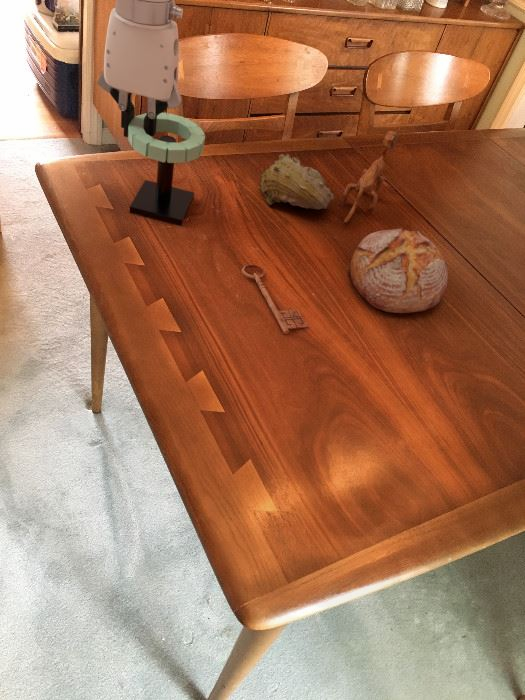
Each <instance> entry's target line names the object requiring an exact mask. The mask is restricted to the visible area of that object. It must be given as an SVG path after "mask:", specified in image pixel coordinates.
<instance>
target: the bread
mask: <svg viewBox="0 0 525 700" xmlns="http://www.w3.org/2000/svg"><path fill="white" fill-rule="evenodd" d="M359 242H360V243H359V244H358V245H356V249H355V250H354V252H353V254H352V256H351V260H350V264H349V272H350V280H351V282H352V285H353V286H354V288H355V289H356V290H357V293H358V294H359V295H360V296H362V298H364V299H365V300H366V301H367V302H368V303H369V305H371V306H372V307H373V308H375V309H377V310H380V311H383V312H386V313H393V314H410V313H421V312H425V311H427V310H430V309H433V308H435V307H436V306H437V305H439V304H440V303H441V301H442V299H443V296H444V294H445V292H446V290H447V286H448V280H449V279H448V278H449V275H448V274H449V273H448V267H447V266H448V265H447V263H446V260H445V258H444V257H443V255H442V254H441V252H440V249H438V248H437V246H435V244H434V243H433V242H432V241H431V240H430V239H428V238H427V237H425V236H424V235H423V234H421V233H420V231H419V230H411V231H410V230H407V229H405V228H403V227H402V228H394V229H393V228H391V229H383V230H379V231H378V230H377V231H375V232H371V233H369V234H368V235H366V236H365V237H364V238H363V239H361V240H360V241H359Z"/></svg>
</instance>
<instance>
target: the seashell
mask: <svg viewBox="0 0 525 700" xmlns="http://www.w3.org/2000/svg"><path fill="white" fill-rule="evenodd" d="M258 176H259V177H260V184H259V187H258V191H261V193H262V197H264V199H265V201H266V203H267V205H268V206H272V205H273V204H275V203H284V204H285V203H289V204H290V205H291V206H293V207H295V206H297V207H299V208H304V209H311V210H317V211H318V210H323V209H324V210H327V207H328V205H330V202H331V201H333V200H334V198H335V196H334V194H333V192H332V191H331V189H330V188H328V187H327V186H326V179H324V177H323V176H322V175H321V173H320V172H319V171H318V170H317V169H314V168H312V167H311V166H303V165H301V160H300V159H299V158H298V157H294V156H293V157H292V158H291V155H290V154H289V153H287V154H286V155H285V154H283V153H281V154H279V155H278V160H274V162H273V163H271V164H270V166H269V167H268V168H263V170H262V173H260V174H259V175H258Z"/></svg>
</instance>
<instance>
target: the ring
mask: <svg viewBox="0 0 525 700" xmlns="http://www.w3.org/2000/svg"><path fill="white" fill-rule="evenodd" d="M146 114H147V112H145V113H142V114H139V115H135V116H134V118H133V120H132V121H131V122H130V124H129V126H128V137H127V139H128V143H129V144H130V147H131V148H132V149H133V150H134V151H135V152H137V153H138V154H140V155H142V156H143V157H145V158H147V159H149V160H154V161H157V162H158V161H161V162H164V163H165V162H166V160H167V162H168V163H174V164H185V163H190V162H191V161H194V160H197V159H199V158H200V157H201V156H202V153H203V151H204V149H205V143H206V134H205V132H204V130H203V129H202V127H201V126H200V125H199V124H198V123H196V122H194V121H192V120H191V119H189V118H188V117H187V118H185V117H184V116H182V115H177V114H174V113H171V112H170V113H167V112H162V113H160V114H159V115H157V122H156V133H169V134H173V135H176V136H179V137H180V138H181V139H183V140H182V141H180V142H176V143H168V142H164V141H160V139H156V138H155V137H153V136H149V135H148V134H146V132H145V130H144V129H143V127H144V117H145V116H146Z"/></svg>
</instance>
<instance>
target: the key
mask: <svg viewBox="0 0 525 700" xmlns="http://www.w3.org/2000/svg"><path fill="white" fill-rule="evenodd" d="M246 269H255V270H258V271H259V272H260V273H261V274H259V275H258V274H257V273H256V272H253V274H249V273H248V272H246ZM265 273H266V272H265V270H264V268H262V267H260V266H259V265H256V264H247V265H243V267H242V268H241V274H242V275H243V276H245V277H247V278H248V279H252V280H253V279H254V280H255V282H256V284H257V286H258V288H259V291H260V292H261V294H262V295H263V297H264V299H265V301H266V303H267V304H268V306H269V308H270V310H271V312H272V314H273V316H274V318H275V319H276V321H277V323H278V324H279V327H280V329H281V330H282V332H283V334H285V335H287V334H289V333H290V330H293V329H295V330H296V329H303V328H308V325H307V323H306V321H305V319H304V318H303V316H302V314H301V312H300V311H299V310H298V309H289V310H279V309H278V308H277V306H276V304H275V302H274V301H273V299H272V297H271V295H270V293H269V291H268V290H267V287H266V286H265V284H264V283H263V281H262V278H263V277H264V276H265Z"/></svg>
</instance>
